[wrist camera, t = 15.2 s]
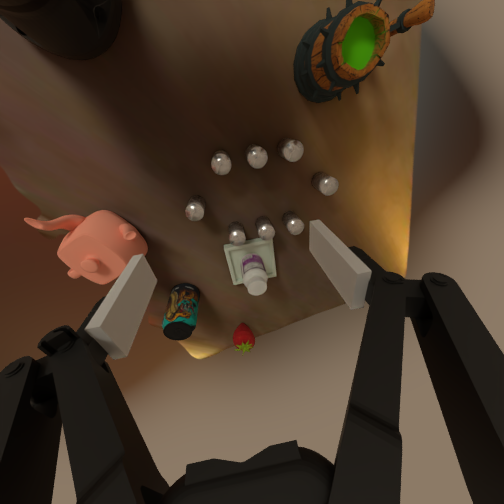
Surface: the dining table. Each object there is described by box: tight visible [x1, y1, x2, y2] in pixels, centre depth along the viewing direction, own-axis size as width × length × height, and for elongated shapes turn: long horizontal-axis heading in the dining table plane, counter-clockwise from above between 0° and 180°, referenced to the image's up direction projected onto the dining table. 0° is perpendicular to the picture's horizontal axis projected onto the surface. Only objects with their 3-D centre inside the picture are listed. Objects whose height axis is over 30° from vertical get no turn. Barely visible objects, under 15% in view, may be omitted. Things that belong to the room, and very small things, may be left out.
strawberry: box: [233, 323, 255, 352], centre depth 58 cm, size 6×8×10 cm
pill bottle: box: [240, 253, 268, 295], centre depth 45 cm, size 5×5×10 cm
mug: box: [293, 0, 435, 103], centre depth 27 cm, size 13×10×12 cm
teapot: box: [24, 210, 148, 284], centre depth 37 cm, size 14×14×11 cm
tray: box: [224, 238, 276, 285], centre depth 49 cm, size 11×11×2 cm
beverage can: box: [162, 283, 200, 340], centre depth 47 cm, size 7×7×12 cm
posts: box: [185, 138, 339, 246], centre depth 39 cm, size 28×17×5 cm, turn 99°
